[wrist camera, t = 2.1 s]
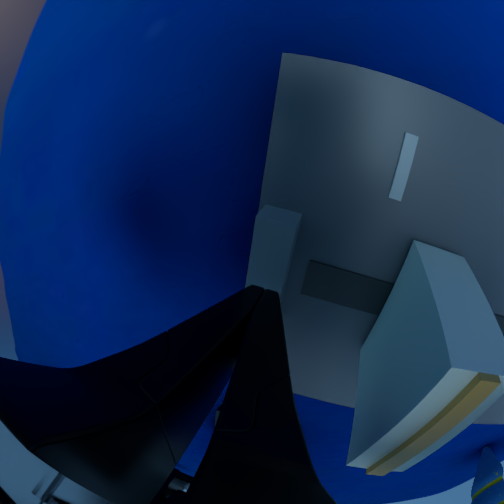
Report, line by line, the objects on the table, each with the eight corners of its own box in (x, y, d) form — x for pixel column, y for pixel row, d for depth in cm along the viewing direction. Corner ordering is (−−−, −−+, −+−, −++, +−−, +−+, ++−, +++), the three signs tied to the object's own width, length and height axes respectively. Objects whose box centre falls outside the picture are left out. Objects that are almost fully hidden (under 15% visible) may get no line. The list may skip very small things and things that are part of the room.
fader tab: (403, 359, 10) (402, 477, 6) (360, 349, 10) (344, 471, 6) (463, 256, 7) (520, 385, 3) (413, 239, 8) (453, 375, 4)
